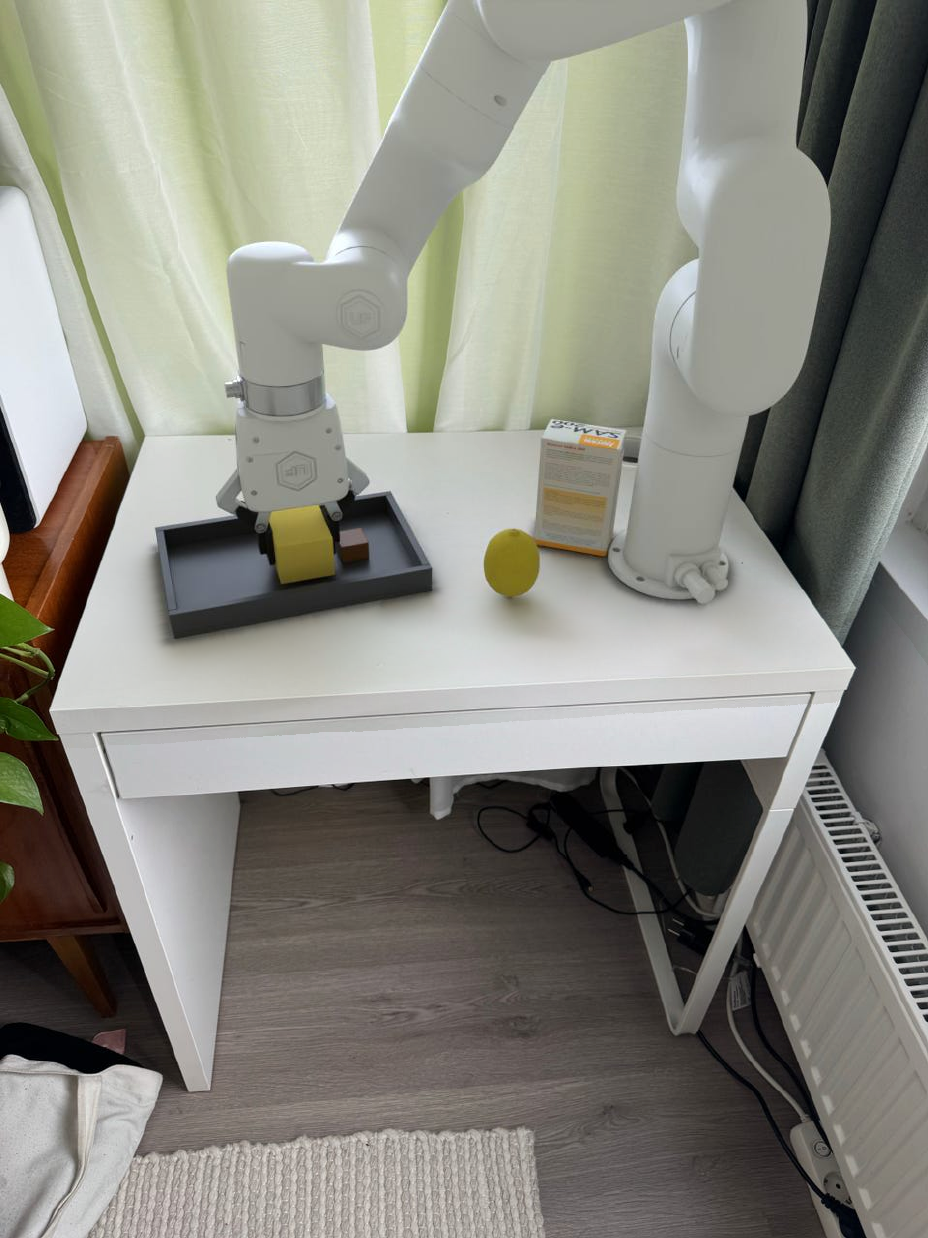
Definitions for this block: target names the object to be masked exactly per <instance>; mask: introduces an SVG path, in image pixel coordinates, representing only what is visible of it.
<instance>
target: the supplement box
mask: <svg viewBox="0 0 928 1238" xmlns="http://www.w3.org/2000/svg"><path fill="white" fill-rule="evenodd" d="M626 438H627V430H626V429H621V428H614V427H607V426H600V425H595V424H586V423H580V422H575V421H574V422H573V421H567V420H561V419H553V418H551V419H550V420H549V422H548V424H547V426H546V428H545V429H544V432H543V434H542V435H541V438H540V451H539V465H538V477H537V479H538V480H537V490H536V491H537V493H536V505H535V507H536V508H535V520H534V521H535V522H534V538H533V539H534V541H535V543H536V545H537V546H542V547H543V546H544V547H548V548H553V549H559V550H566V551H572V552H577V553H582V554H589V555H593V556H599V557H605V558H606V557H607V556H608V552H609V547H610V544H611V542H612V540H613V535H614V528H615V522H616V515H617V514H616V513H617V505H618V498H619V491H620V484H621V476H622V469H623V462H624V454H625V446H626Z"/></svg>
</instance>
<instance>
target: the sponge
mask: <svg viewBox="0 0 928 1238" xmlns="http://www.w3.org/2000/svg"><path fill="white" fill-rule="evenodd" d="M269 522H270V525H271V528H272V531H273V534H272V535H273V543H274V551H275V559H276V563H275V566H276V569H277V572H278V575H279V578H280V581H281V584H285V583H291V582H297V581H302V580H308V579H314V578H319V577H325V576H331V575H335V565H334V551H333V538H332V536H331V533H330V531H329V529H328V526H327V525H326V522H325V520H324V517H323V515H322V513H321V510H320V507H319V505H313V506H306V507H300V508H293V509H287V510H280V511H273V512H271V515H270V519H269Z"/></svg>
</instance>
